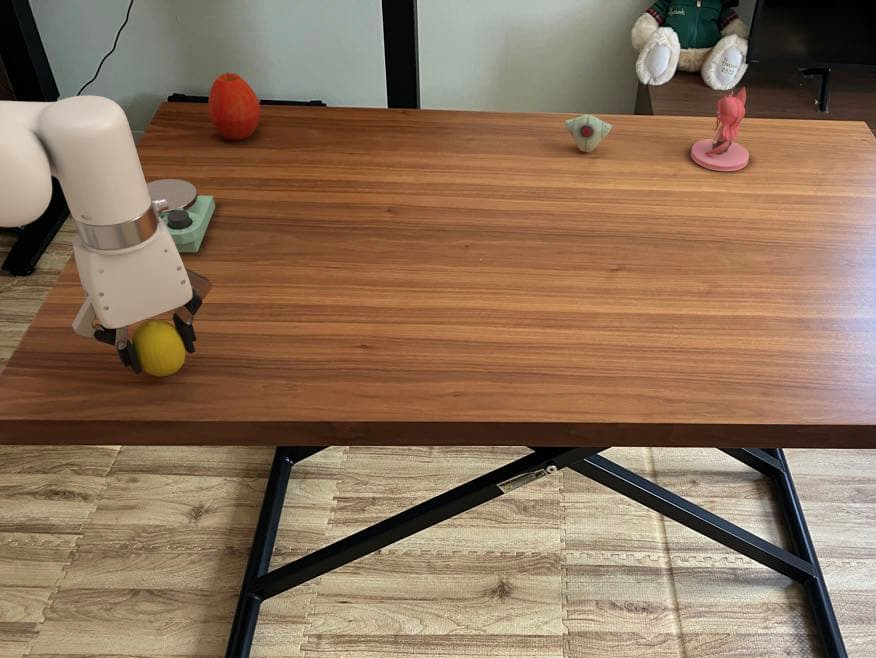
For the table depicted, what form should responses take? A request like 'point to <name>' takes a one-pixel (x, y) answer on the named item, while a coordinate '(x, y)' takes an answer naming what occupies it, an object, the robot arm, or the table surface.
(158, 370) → the lemon
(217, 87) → the apple
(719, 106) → the toy figure
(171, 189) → the scale weighing pan
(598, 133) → the robot head
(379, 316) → the table surface
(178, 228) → the tare button
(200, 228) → the scale
